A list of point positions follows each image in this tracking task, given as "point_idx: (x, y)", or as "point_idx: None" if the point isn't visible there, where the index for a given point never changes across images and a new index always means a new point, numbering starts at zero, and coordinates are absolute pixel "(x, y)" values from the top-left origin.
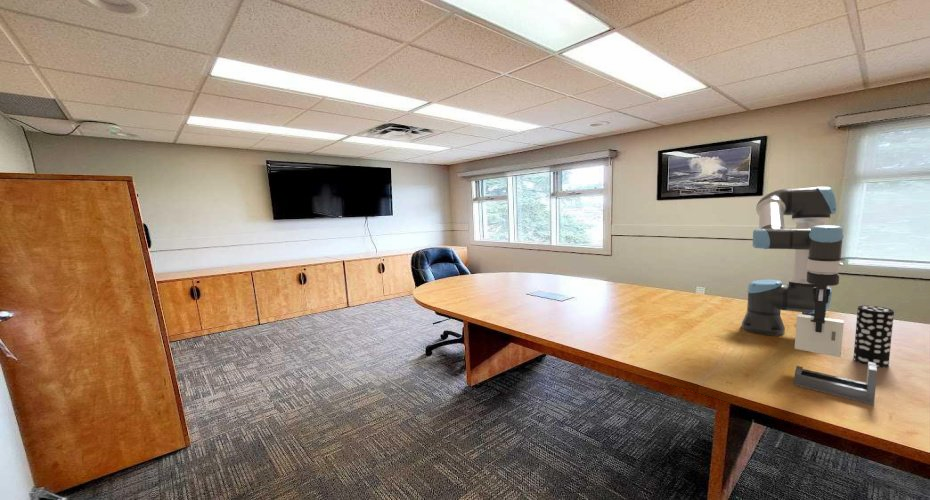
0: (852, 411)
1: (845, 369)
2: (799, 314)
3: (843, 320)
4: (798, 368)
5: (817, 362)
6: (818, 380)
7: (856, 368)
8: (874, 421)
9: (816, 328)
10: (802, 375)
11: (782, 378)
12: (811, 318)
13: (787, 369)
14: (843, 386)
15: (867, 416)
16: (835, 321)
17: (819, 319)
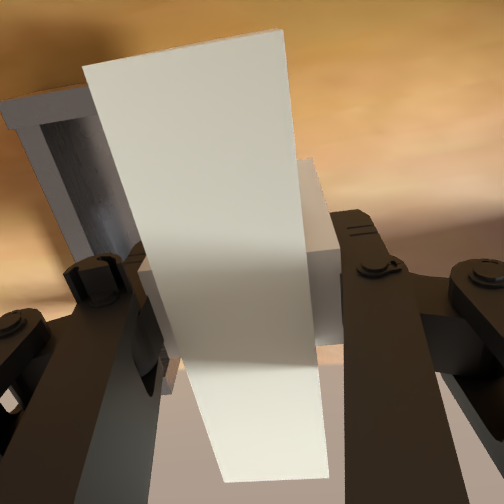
0: (11, 270)
1: (413, 201)
2: (251, 76)
3: (316, 477)
4: (81, 99)
5: (438, 98)
6: (43, 191)
7: (455, 226)
8: (4, 311)
9: (128, 265)
10: (33, 129)
11: (63, 28)
12: (153, 268)
13: (212, 9)
14: (76, 261)
15: (19, 298)
16: (219, 444)
17: (13, 392)
